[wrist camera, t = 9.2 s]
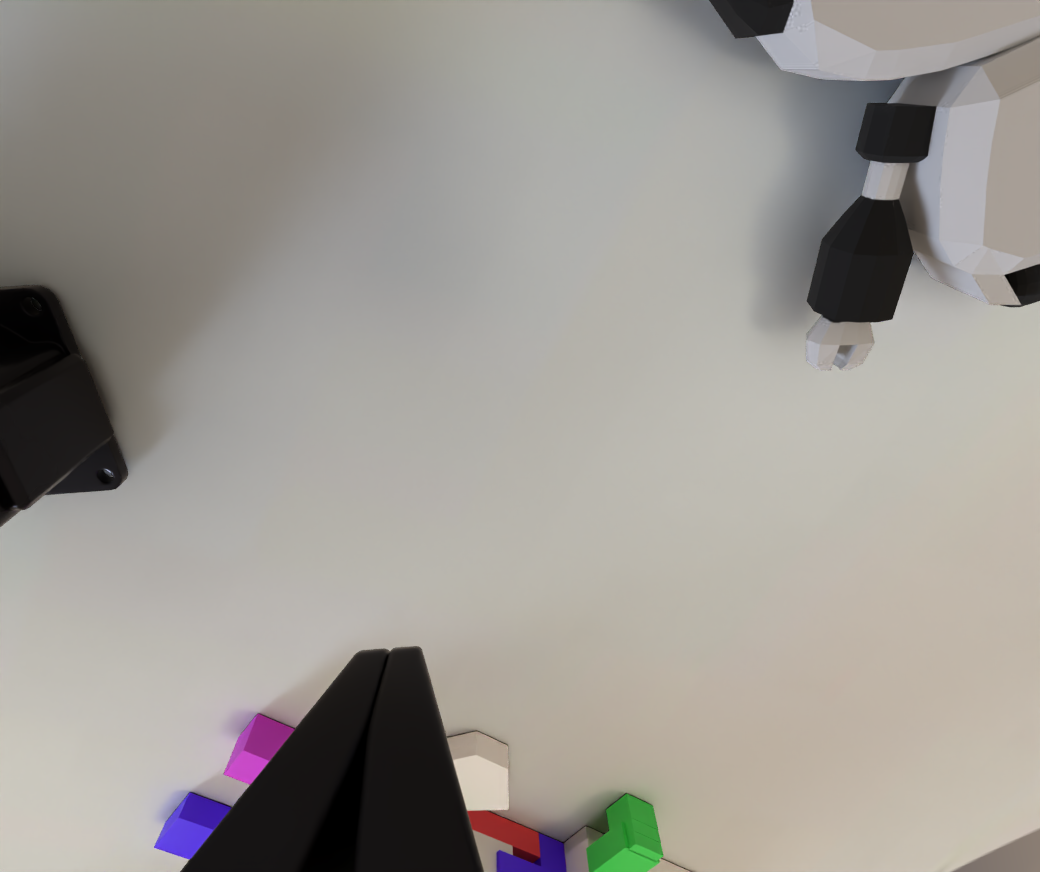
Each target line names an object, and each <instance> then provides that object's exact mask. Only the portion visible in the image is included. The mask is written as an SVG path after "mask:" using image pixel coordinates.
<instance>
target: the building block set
mask: <svg viewBox="0 0 1040 872" xmlns="http://www.w3.org/2000/svg"><path fill="white" fill-rule="evenodd" d="M294 730H295V729H293V728H291V727H288V726H286V725H284V724H281V723H279V722H277V721H274V720H272V719H269V718H267V717H265V716H262V715H260V714H257V715H256V716H255V718H254V719H253V720H252V721H251V723H250V724H249V725H248V726H247V727H246V729H245V730H244V731H243V732H242V734H241V735H240V736H239V738H238V740H237V743H236V745H235V747H234V750H233V752H232V755H231V757H230V760H229V762H228V764H227V767H226V769H225V772H224V775H227V776H229V777H232V778H234V779H237V780H240V781H242V782H245V783H248V784H251V783H252V782H253V781H254V779H255V778H256V777H257V776H258V775H259V773H260V772H261V771H262V770H263V768H264V767H265V766H266V765H267V763H268V762H269V761H270V760H271V758H272V757H273V756H274V755H275V753H276V752H277V751H278V750H279V748H280V747H281V746H282V745H283V743H284V742H285V741H286V740H287V739H288V737H289V736H290V735H291V734H292V732H293V731H294ZM447 741H448V744H449V748H450V751H451V755H452V759H453V762H454V766H455V769H456V773H457V776H458V780H459V784H460V787H461V791H462V794H463V798H464V801H465V805H466V809H467V812H468V816H469V819H470V823H471V826H472V830H473V834H474V837H475V841H476V844H477V848H478V851H479V855H480V859H481V862H482V866H483V869H484V872H690V871H688V870H685V869H683V868H681V867H679V866H676V865H674V864H672V863H670V862H667V861H665V860H663V859H660V858H662V857H663V852H662V847H661V841H660V837H659V833H658V827H657V822H656V818H655V814H654V809H653V806H652V805H650V804H648V803H646V802H644V801H641V800H639V799H637V798H635V797H633V796H631V795H629V794H625V795H624V796H623V797H622V798H620V799H619V800H618V801H617V802H615V803H614V804H613V805H611V806H610V807H609V808H608V809H606V813H607V819H608V826H609V831H608V832H607V833H605V834H603V833H600V832H598V831H596V830H594V829H591V828H589V827H587V826H585V827H584V828H582V829H581V830H580V831H579V832H577V833H576V834H575V835H574V836H572V837H571V838H570V839H569V840H567V841H566V842H565V843H562V842H559V841H557V840H555V839H552V838H550V837H548V836H545V835H543V834H540V833H538V832H536V831H533V830H531V829H529V828H526V827H524V826H521V825H519V824H517V823H514V822H512V821H510V820H507V819H505V818H503V817H500V816H498V815H495V814H493V813H491V812H488V811H486V810H509V798H508V745H505V744H503V743H501V742H499V741H497V740H495V739H493V738H490V737H488V736H486V735H484V734H482V733H480V732H478V731H476V732H471V733H467V734H462V735H458V736H453V737H449V738H447ZM230 809H231V807H228V806H225V805H223V804H220V803H217V802H215V801H212V800H209V799H206V798H204V797H201V796H198V795H196V794H193V793H189V794H188V795H187V796H186V798H185V799H184V800H183V801H182V803H181V804H180V805H179V806H178V808H177V809H176V810H175V811H174V813H173V814H172V815H171V816H170V818H169V819H168V820H167V821H166V823H165V825H164V827H163V829H162V831H161V833H160V836H159V838H158V840H157V842H156V844H155V846H154V848H157V849H160V850H163V851H166V852H169V853H172V854H175V855H178V856H181V857H184V858H187V859H191V858H192V856H193V855H194V854H195V853H196V851H197V850H198V849H199V848H200V847H201V845H202V844H203V843H204V842H205V840H206V839H207V838H208V837H209V835H210V834H211V833H212V832H213V830H214V829H215V828H216V827H217V825H218V824H219V823H220V822H221V820H222V819H223V818H224V817H225V815H226V814H227V813H228V812H229V811H230Z"/></svg>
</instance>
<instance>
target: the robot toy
mask: <svg viewBox="0 0 1040 872" xmlns="http://www.w3.org/2000/svg"><path fill="white" fill-rule="evenodd" d="M709 1H710V2H711V4H712V5H713V6H714V8H715V9H716V11H717V12H718V14H719V15H720V17H721V18H722V19H723V21H724V22H725V24H726V25H727V27H728V28H729V30H730V31H731V33H732V34H733V35H734V37H735V38H745V37H755V36H756V38H757V39H758V40H759V42H760V43H761V44H762V46H763V47H764V48H765V50H766V51H767V52H768V54H769V55H770V56H771V58H772V59H773V60H774V62H775V63H776V64H777V66H778V67H779V68H780V70H784V71H788V72H792V73H796V74H801V75H805V76H809V77H813V78H817V79H825V80H853V81H875V80H893V79H898V78H904V77H905V78H904V80H903V81H902V83H901V84H900V86H899V87H898V88H897V90H896V91H895V93H894V94H893V95H892V97H891V98H890V100H889V101H888V103H867V106H866V110H865V114H864V118H863V122H862V126H861V130H860V134H859V138H858V142H857V146H856V151H857V152H858V153H859V154H860V155H861V156H862V157H863V158H864V159H867V160H869V161H870V165H869V168H868V172H867V176H866V180H865V183H864V187H863V191H862V195H861V196H860V197H859V198H858V199H857V200H856V201H855V202H854V203H853V204H852V205H851V206H850V207H849V208H848V209H847V211H846V212H845V213H844V214H843V215H842V216H841V217H840V219H839V220H838V221H837V222H836V223H835V224H834V226H833V227H832V228H831V229H830V230H829V232H828V233H827V234H826V235H825V236H824V237H823V239H822V241H821V246H820V250H819V254H818V258H817V262H816V266H815V270H814V274H813V278H812V282H811V286H810V290H809V294H808V299H807V302H808V304H809V305H810V306H811V308H812V309H813V311H815V312H817V313H820V314H822V316H821V317H820V318H819V319H818V321H817V322H816V323H815V324H814V326H813V327H812V328H811V329H810V331H809V332H808V333H807V341H806V361H807V362H809V363H810V364H811V365H812V366H813V367H814V368H817V369H819V370H831V368H832V364H834V365H836V366H837V367H838V368H839V369H840V370H850V369H852V368H854V367H857V366H859V365H861V364H862V363H863V362H864V360H865V358H866V356H867V355H868V353H869V351H870V350H871V348H872V346H873V344H874V339H873V334H872V329H871V324H870V322H881V321H886V320H891V319H892V318H893V315H894V312H895V309H896V306H897V303H898V300H899V297H900V294H901V291H902V288H903V284H904V281H905V278H906V275H907V272H908V269H909V266H910V263H911V260H912V257H913V254H914V253H913V250H914V252H915V253H916V255H917V256H918V258H919V260H920V261H921V263H922V264H923V266H924V267H925V269H926V270H927V272H928V273H929V275H930V277H931V278H933V279H935V280H937V281H939V282H941V283H944V284H946V285H948V286H950V287H952V288H954V289H957V290H959V291H961V292H963V293H965V294H968V295H970V296H972V297H974V298H976V299H979V300H981V301H983V302H985V303H987V304H990V305H1002V306H1007V307H1021V306H1025V305H1028V304H1031V303H1034V302H1037V301H1040V0H709Z"/></svg>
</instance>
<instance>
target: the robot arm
mask: <svg viewBox="0 0 1040 872" xmlns="http://www.w3.org/2000/svg"><path fill="white" fill-rule="evenodd" d="M31 298H34V299H35V300H37V301H38V302H39V304H40V305H41V309H42V310H41V311H39V310H38V309H36V308H35V307H34V306H33V304H32V302H31ZM104 470H107V471H109V472H110V473H111V474H112V475H113V477H110V476H108V475H107V474H106V473H105V472H104ZM127 476H128V471H127V467H126V465H125V463H124V460H123V458H122V455H121V453H120V450H119V448H118V445H117V443H116V441H115V438H114V436H113V429H112V427H111V424H110V422H109V419H108V417H107V414H106V412H105V410H104V407H103V405H102V402H101V400H100V397H99V395H98V392H97V390H96V387H95V385H94V382H93V380H92V378H91V375H90V373H89V370H88V368H87V365H86V363H85V361H84V360H83V359H82V357H81V355H80V352H79V350H78V347H77V345H76V343H75V340H74V338H73V335H72V333H71V330H70V328H69V325H68V323H67V320H66V318H65V316H64V313H63V311H62V308H61V306H60V303H59V301H58V299H57V298H56V296H55V295H54V294H53V293H52V292H51V291H50V290H49V289H47V288H45V287H43V286H40V285H24V286H10V287H0V527H1V526H3V525H4V524H5V523H6V522H7V521H9V520H10V519H11V518H12V517H13V516H15V515H16V514H17V513H18V512H19V511H21V510H25V509H27V508H29V507H31V506H32V505H33V504H34V503H35V502H37V501H38V500H39V499H40V498H41V497H43V496H44V495H51V494H64V493H77V492H91V491H104V490H112V489H116V488H117V487H118V486H120V485H121V484H122V483H123V482H124V481H125V480H126V479H127ZM180 872H484V869H483V866H482V862H481V859H480V855H479V851H478V848H477V844H476V841H475V837H474V834H473V830H472V826H471V823H470V819H469V816H468V812H467V809H466V805H465V801H464V798H463V794H462V791H461V787H460V784H459V780H458V776H457V773H456V769H455V766H454V762H453V759H452V755H451V751H450V748H449V744H448V741H447V737H446V734H445V730H444V726H443V723H442V719H441V716H440V712H439V709H438V705H437V701H436V698H435V694H434V691H433V687H432V684H431V680H430V676H429V673H428V669H427V666H426V662H425V659H424V655H423V652H422V649H421V648H420V647H418V646H412V647H399V648H393V649H392V650H391V651H389V650H387V649H373V650H362V651H359V652H358V653H356V654H355V655H354V657H353V658H352V659H351V660H350V662H349V663H348V664H347V665H346V667H345V668H344V669H343V670H342V671H341V673H340V674H339V675H338V676H337V678H336V679H335V680H334V681H333V683H332V684H331V685H330V686H329V688H328V689H327V690H326V691H325V693H324V694H323V695H322V696H321V698H320V699H319V700H318V701H317V703H316V704H315V705H314V706H313V707H312V709H311V710H310V711H309V712H308V714H307V715H306V716H305V717H304V719H303V720H302V721H301V722H300V724H299V725H298V726H297V727H296V729H295V730H294V731H293V732H292V734H291V735H290V736H289V737H288V739H287V740H286V741H285V742H284V743H283V745H282V746H281V747H280V748H279V750H278V751H277V752H276V753H275V755H274V756H273V757H272V758H271V760H270V761H269V762H268V763H267V765H266V766H265V767H264V768H263V770H262V771H261V772H260V773H259V775H258V776H257V777H256V778H255V779H254V781H253V782H252V783H251V784H250V786H249V787H248V788H247V789H246V791H245V792H244V793H243V794H242V796H241V797H240V798H239V799H238V801H237V802H236V803H235V804H234V806H233V807H232V808H231V809H230V811H229V812H228V813H227V814H226V815H225V817H224V818H223V819H222V820H221V822H220V823H219V824H218V825H217V827H216V828H215V829H214V830H213V832H212V833H211V834H210V835H209V837H208V838H207V839H206V840H205V842H204V843H203V844H202V845H201V847H200V848H199V849H198V850H197V851H196V853H195V854H194V855H193V856H192V858H191V859H190V860H189V861H188V863H187V864H186V865H185V866H184V868H183V869H182V870H181V871H180Z"/></svg>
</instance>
